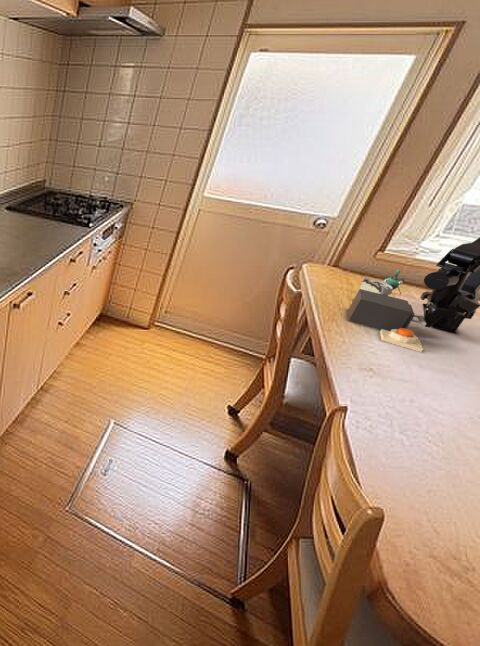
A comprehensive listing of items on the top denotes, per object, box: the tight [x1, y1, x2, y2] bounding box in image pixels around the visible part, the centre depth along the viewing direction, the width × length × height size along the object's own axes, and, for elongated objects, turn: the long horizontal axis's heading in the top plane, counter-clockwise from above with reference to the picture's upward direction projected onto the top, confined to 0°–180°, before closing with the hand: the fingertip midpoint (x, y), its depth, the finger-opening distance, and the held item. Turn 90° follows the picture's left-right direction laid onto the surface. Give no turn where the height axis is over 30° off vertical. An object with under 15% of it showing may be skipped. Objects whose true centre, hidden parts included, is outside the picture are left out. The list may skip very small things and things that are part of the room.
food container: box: [355, 277, 393, 296], centre depth 164 cm, size 12×6×10 cm, turn 168°
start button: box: [397, 328, 415, 337], centre depth 140 cm, size 4×4×2 cm
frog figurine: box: [382, 269, 405, 296], centre depth 170 cm, size 10×18×15 cm, turn 146°
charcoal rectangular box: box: [347, 288, 412, 331], centre depth 152 cm, size 14×13×9 cm
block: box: [379, 329, 424, 353], centre depth 141 cm, size 10×8×3 cm
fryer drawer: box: [402, 303, 426, 329], centre depth 150 cm, size 17×11×7 cm
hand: (427, 326), depth 145 cm, fingers closed, pressing on fryer drawer
